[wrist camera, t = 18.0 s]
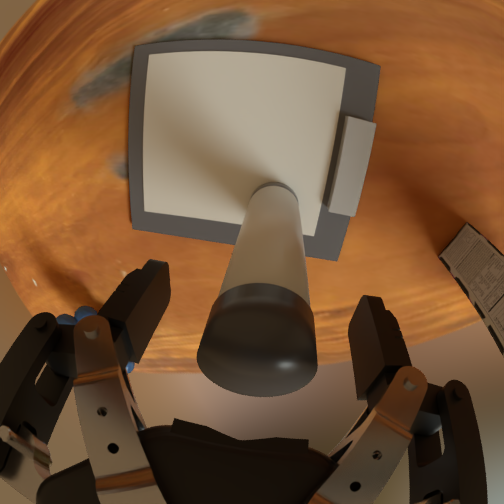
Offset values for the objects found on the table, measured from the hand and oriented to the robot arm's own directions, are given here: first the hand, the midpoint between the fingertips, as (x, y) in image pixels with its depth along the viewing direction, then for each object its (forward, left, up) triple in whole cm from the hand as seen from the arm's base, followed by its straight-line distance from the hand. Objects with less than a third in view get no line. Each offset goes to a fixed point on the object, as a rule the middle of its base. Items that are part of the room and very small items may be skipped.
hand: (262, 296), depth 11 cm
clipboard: (-4, -3, -11) cm, 12 cm away
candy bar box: (+2, +22, -12) cm, 25 cm away
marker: (0, 0, -11) cm, 11 cm away
